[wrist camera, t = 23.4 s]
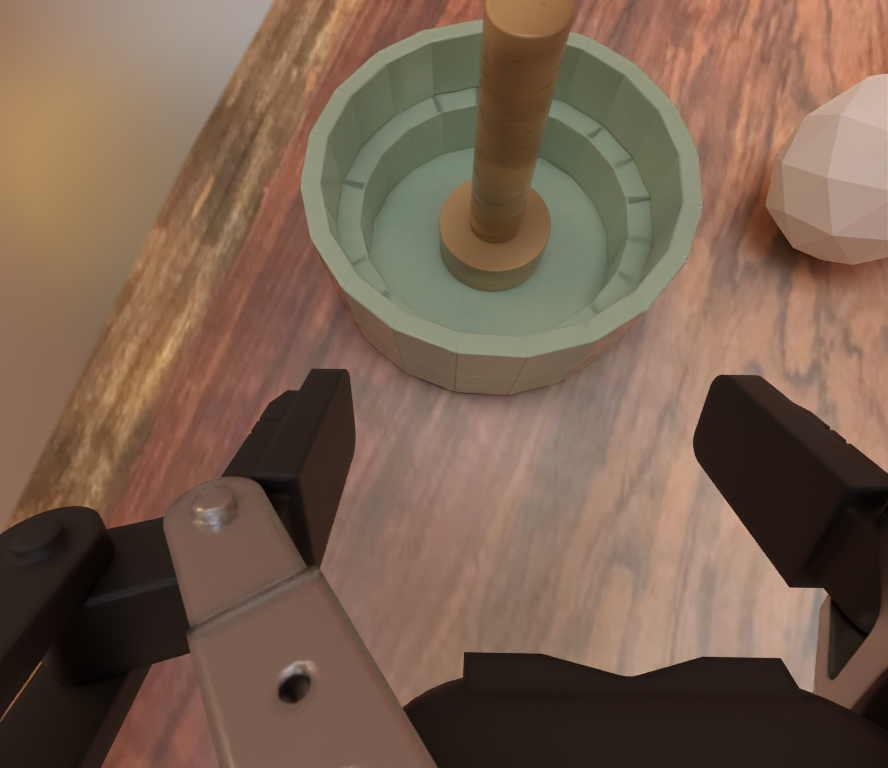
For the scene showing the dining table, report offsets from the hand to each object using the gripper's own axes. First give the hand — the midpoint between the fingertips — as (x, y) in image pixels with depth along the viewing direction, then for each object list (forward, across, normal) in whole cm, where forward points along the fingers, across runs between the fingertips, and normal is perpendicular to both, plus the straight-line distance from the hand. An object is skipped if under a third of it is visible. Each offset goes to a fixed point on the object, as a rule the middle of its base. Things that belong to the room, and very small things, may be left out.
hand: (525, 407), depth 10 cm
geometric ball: (+17, -17, -1) cm, 24 cm away
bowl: (+15, 0, 0) cm, 15 cm away
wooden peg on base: (+15, 0, 0) cm, 15 cm away
